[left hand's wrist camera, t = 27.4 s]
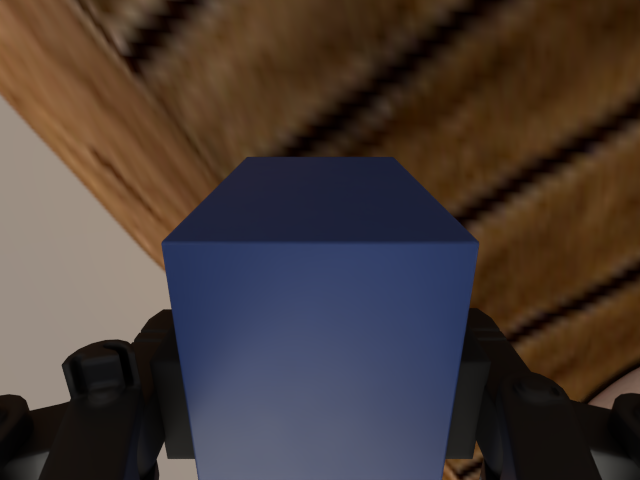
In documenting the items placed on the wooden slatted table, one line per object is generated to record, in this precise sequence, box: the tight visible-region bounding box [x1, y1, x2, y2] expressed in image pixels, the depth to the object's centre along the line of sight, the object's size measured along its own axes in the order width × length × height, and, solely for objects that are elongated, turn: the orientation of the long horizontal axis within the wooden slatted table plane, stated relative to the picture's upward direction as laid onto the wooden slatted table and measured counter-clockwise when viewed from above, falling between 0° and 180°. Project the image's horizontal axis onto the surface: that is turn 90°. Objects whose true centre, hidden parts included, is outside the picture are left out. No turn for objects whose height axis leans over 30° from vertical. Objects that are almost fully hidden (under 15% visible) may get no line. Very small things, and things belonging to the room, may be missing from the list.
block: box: [162, 157, 479, 480], centre depth 12 cm, size 8×6×9 cm, turn 0°
